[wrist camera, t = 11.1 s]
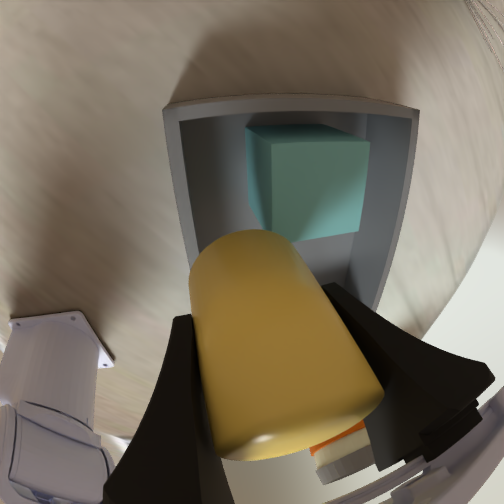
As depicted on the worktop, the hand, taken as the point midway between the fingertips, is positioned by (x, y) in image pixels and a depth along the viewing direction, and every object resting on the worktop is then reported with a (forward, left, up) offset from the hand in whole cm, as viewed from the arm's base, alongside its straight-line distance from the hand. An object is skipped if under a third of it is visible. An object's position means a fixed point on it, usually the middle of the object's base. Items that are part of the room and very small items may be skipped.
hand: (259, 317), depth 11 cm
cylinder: (0, 0, -2) cm, 2 cm away
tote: (+4, -1, -9) cm, 10 cm away
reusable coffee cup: (+13, -35, -10) cm, 39 cm away
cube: (+4, +3, -9) cm, 10 cm away
